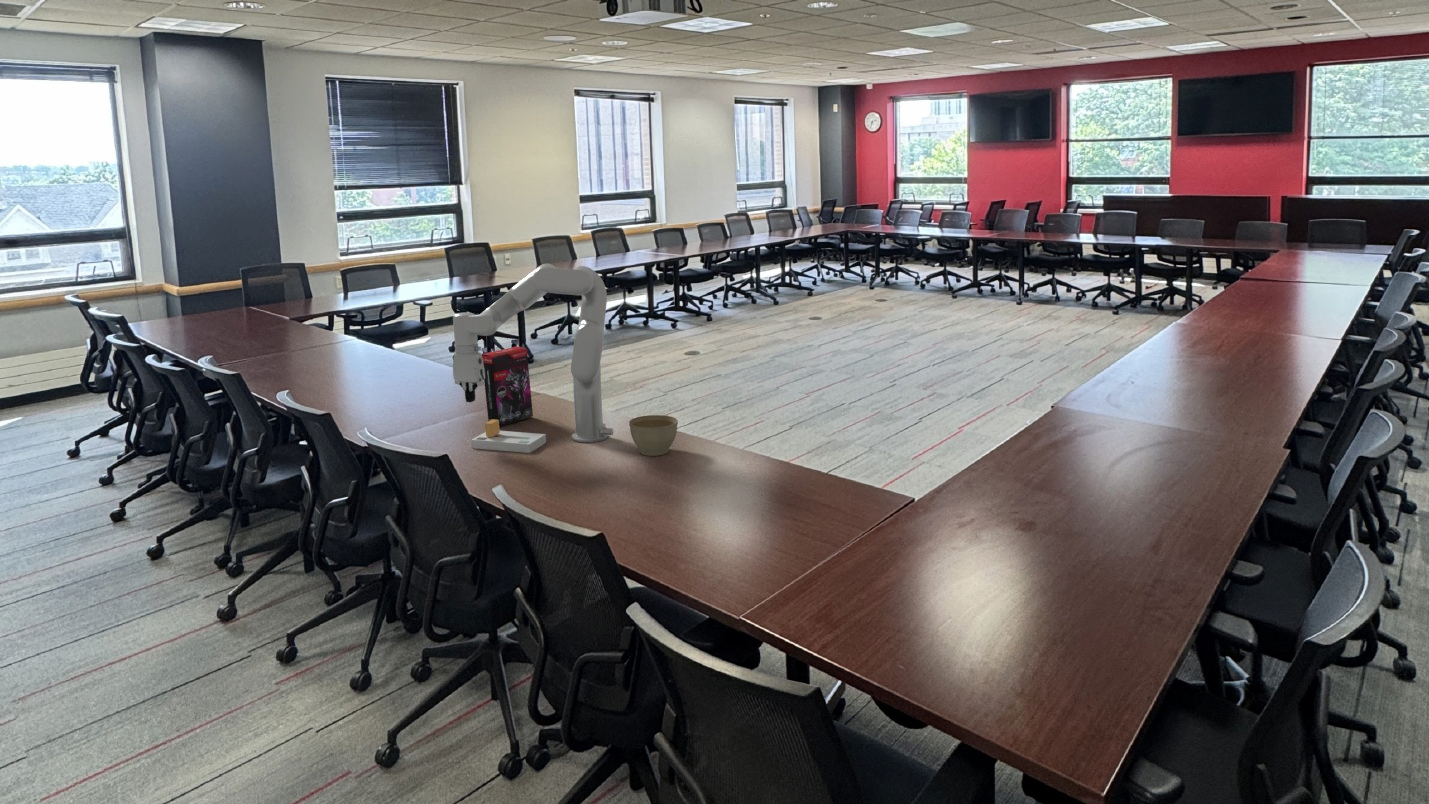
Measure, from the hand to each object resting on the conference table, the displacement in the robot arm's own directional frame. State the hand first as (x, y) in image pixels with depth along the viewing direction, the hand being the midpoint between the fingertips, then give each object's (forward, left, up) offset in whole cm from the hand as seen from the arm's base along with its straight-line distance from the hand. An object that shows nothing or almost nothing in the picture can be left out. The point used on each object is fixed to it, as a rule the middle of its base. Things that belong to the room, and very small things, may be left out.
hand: (470, 401), depth 316 cm
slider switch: (-14, 0, -15) cm, 20 cm away
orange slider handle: (-8, 0, -14) cm, 16 cm away
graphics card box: (+1, -27, -15) cm, 31 cm away
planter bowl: (-65, -5, -15) cm, 67 cm away
